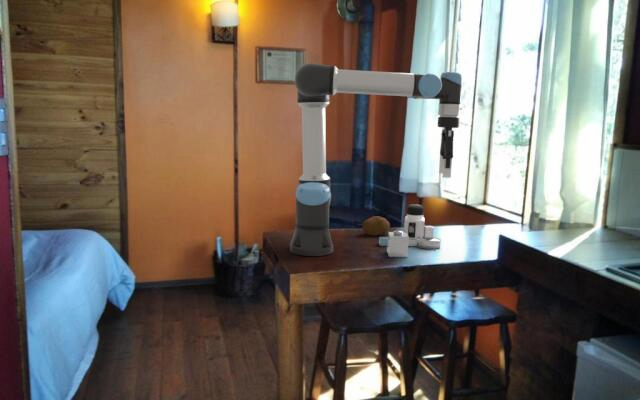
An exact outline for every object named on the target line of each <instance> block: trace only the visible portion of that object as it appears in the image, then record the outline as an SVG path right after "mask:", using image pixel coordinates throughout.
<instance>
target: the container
mask: <svg viewBox="0 0 640 400" xmlns="http://www.w3.org/2000/svg"><path fill="white" fill-rule="evenodd" d="M424 211H425V207H424V206H423V205H421V204H409V205H407V207H406V216H405V217H404V224H403V225H404V226H403V232H406V233H407V235H408V236H409V239H416V237H417V236H424V226H425V222H426V221H425V217H424Z"/></svg>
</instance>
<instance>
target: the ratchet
mask: <svg viewBox="0 0 640 400" xmlns="http://www.w3.org/2000/svg"><path fill="white" fill-rule="evenodd" d="M434 229H435V227H434V226H433V225H424V236H417V237H416V239H409V243H408V247H417V248H419V249H422V250H438V249H440V248H441V238H440V237H438V236H434ZM387 242H388V236H379V237H378V244H379V246H380V247H387Z"/></svg>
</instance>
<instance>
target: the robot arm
mask: <svg viewBox="0 0 640 400" xmlns="http://www.w3.org/2000/svg"><path fill="white" fill-rule="evenodd" d="M294 86H295V88H296V91H297V93H296V94H297V96H296V97H297V105H298V106H299V107H300V108H301V131H302V132H301V133H302V134H301V135H302V136H301V137H302V141H301V143H302V144H301V145H302V175H300V177H299V178H298V185H297V187H296V190H295V229H294V232H293V234H292V235H293V236H292V238H291V241H290V243H289V246H290V247H289V251H290V253H293V254H295V255H299V256H304V257H305V256H307V257H318V256H319V257H320V256H321V257H323V256H327V255H330V254H332V253H333V252H334V244H333V240H332V237H331V234H330V229H329V227H330V226H329V225H330V206H331V201H332V192H331V177H330V176H329V175H328V174H327V145H326V143H327V142H326V140H327V137H326V135H327V133H326V131H327V130H326V126H327V125H326V124H327V123H326V121H327V120H326V108H327V107H328V106H329V104H330V96H335V95H336V94H359V95H374V96H375V95H377V96H378V95H379V96H397V97H399V96H400V97H407V98H408V99H415V100H418V99H421V100H422V99H423V100H424V99H425V100H428V99H429V100H439V103H438V110H437V111H438V114H437V115H439V116H438V118H437V128H443V129H442V132H441V140H440V141H441V143H440V151H439V153H440V156H439V168H438V169H439V171H438V173H439V174H442V178H446V179H447V178H448V179H450V178H452V162H453V158H454V136H455V134H454V130H453V129H458V128H460V117H459V116H460V114H461V111H463V108H462V107H461V102H462V91H463V74H462V73H461V72H459V71H444V72H441V75H440V76H439V75H437V74H434V73H425V74H424V73H411V72H409V73H408V72H394V71H393V72H389V71H374V70H373V71H372V70H371V71H370V70H357V69H356V70H355V69H354V70H352V69H339V68H338V67H337V66H336V65H327V64H325V65H324V64H321V63H315V62H307V63H305V64H303V65H301V66H300V67H299V68H298V69H297V71H296V72H295V76H294Z"/></svg>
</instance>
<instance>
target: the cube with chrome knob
mask: <svg viewBox="0 0 640 400" xmlns="http://www.w3.org/2000/svg"><path fill="white" fill-rule="evenodd" d="M387 237H388V242H387V246H386V252H387V255H388V257H390V258H391V257H392V258H393V257H395V258H409V257H408V256H409V246H408V243H409V236H408V235H407V233H406V232H404V230H398V229H397V230H393V231H387Z"/></svg>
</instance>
